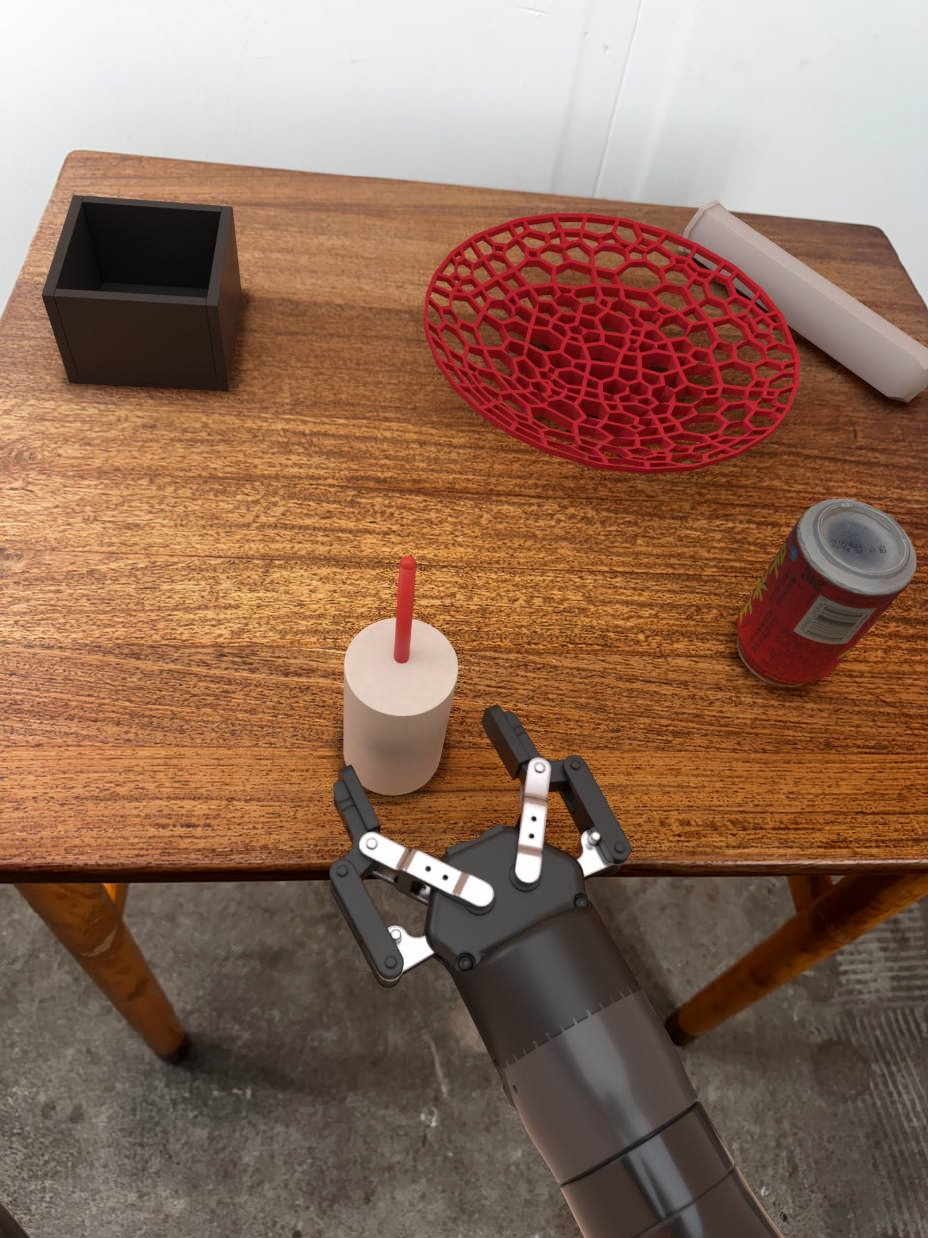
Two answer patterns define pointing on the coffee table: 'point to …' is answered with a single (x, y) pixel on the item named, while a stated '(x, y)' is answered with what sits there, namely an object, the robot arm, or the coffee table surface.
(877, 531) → the soda can
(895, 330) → the tube
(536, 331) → the bowl
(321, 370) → the coffee table surface
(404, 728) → the paper cup
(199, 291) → the bin
